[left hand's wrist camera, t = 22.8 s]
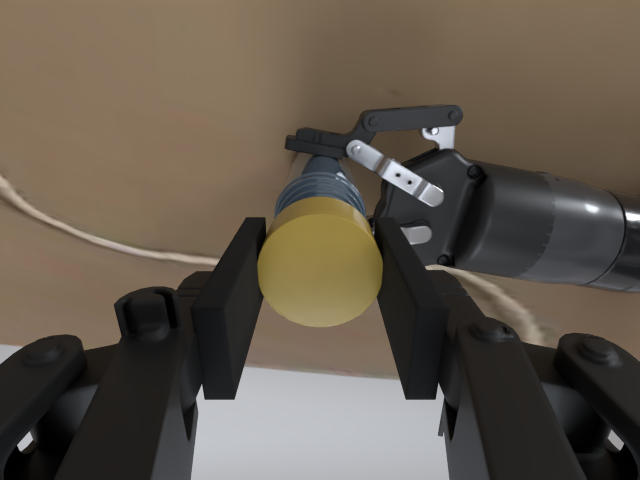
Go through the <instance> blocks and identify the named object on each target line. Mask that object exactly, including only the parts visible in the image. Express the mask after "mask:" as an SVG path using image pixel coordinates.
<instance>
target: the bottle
mask: <svg viewBox="0 0 640 480" xmlns="http://www.w3.org/2000/svg"><path fill="white" fill-rule="evenodd" d="M310 197H330V198H335V199H338V200H341V201H343V202H346V203H348V204H349V205H351V206H353V207H354V208H355V209H357V210H358V211H359V212H360V213H361V214H362V215H363V216H364V218H365V219H366V211H365V205H364V202H363V199H362V197H361V194H360V192H359V190H358V187H357V185H356V182H355V180H354V178H353V175H352V173H351V171H350V168H349V166H348V164H347V161H346V159H345V157H344V156H343V159H342V160H339V159H334V158H329V157H324V156H318V155H313V154H307V153H302V152H299V153H298V154H297V156H296V157H295V160H294V162H293V164H292V167H291V169H290V171H289V174H288V176H287V179H286V181H285V183H284V186H283V188H282V190H281V193H280V195H279V197H278V200H277V203H276V206H275V216H274V219H275V218H276V217H277V215H278V214H279V213H280V212H281V211H282V210H284V209H285V208H286V207H288V206H289V205H291V204H293V203H295V202H297V201H299V200H302V199H305V198H310Z"/></svg>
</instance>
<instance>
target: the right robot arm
mask: <svg viewBox="0 0 640 480" xmlns="http://www.w3.org/2000/svg"><path fill="white" fill-rule="evenodd" d="M462 118H463V111H462V109H461V108H460V107H459V106H457V105H442V104H440V105H427V106H414V107H401V108H388V109H375V110H366V111H364V112H362V113H361V115H360V117H359V120H358V122H357V123H356V125H355V127H354V128H353V130H352V131H351V132H349V133H347V134H338V133H333V132H328V131H322V130H317V129H312V128H307V127H305V128H301V129H298V130H297V133H296V136H293V135H288V136H287V137H286V142H285V149H287V150H292V151H297V152H302V153H307V154H313V155H318V156H324V157H329V158H334V159H339V160H342V159H343V156H344V157H349V158H351V159H353V160H355V161H356V162H358V163H360V164H361V165H363V166H365V167H366V168H368V169H370V170H372V171H373V172H375V173H376V174H377V175H379V176H380V177H382V178H383V180H382V184H381V198H380V200H379V202H378V204H377V206H376V208H375V211H374V215H369V216H366V220H367V222H368V223H369V226H370V228H371V230H372V232H373V235H374V225H375V224H374V223H375V217H394V218H395V220H396V221H397V223H398V225H399V226H400V228H401V230H402V231H403V233H404V234H405V236H406V238H407V239H408V241H409V242H410V244H411V246H412V247H413V249H414V250H415V252H416V254H417V255H418V257H419V259H420V260H421V262H422V263H423V265H424V266H428V265H434V264H437V265H442V266H446V267H450V268H455V269H461V270H467V271H473V272H479V273H484V274H490V275H496V276H502V277H508V278H514V279H520V280H526V281H532V282H538V283H548V284H570V285H577V286H583V287H588V288H594V289H600V290H606V291H612V292H619V293H640V196H637V195H632V194H627V193H621V192H616V191H611V190H606V189H600V188H596V187H592V186H589V185H587V184H584V183H581V182H578V181H575V180H572V179H568V178H563V177H558V176H553V175H551V174H549V173H546V172H532V171H527V170H522V169H516V168H511V167H506V166H501V165H495V164H490V163H485V162H480V161H475V160H470V159H466V158H464V157H463V156H462V155H461V154H460V153H459V152H458V151H456V150H454V136H455V125H457V124H459V123H460V121H461V120H462ZM410 129H418V132H419V134H420V136H421V137H423V138H425V139H428V140H432V141H433V142H434V144H435V148H434V149H431V150H429V151H427V152H425V153H423V154H421V155H418V156H416V157H414V158H412V159H410V160H408V161H405V162H403V163H400V162H398V161H397V160H395V159H393V158H392V157H390V156H388V155H387V154H385V153H383V152H382V151H380V150H378V149H376V148H374V147H373V146H371V145H370V142H371V140H372V139H373V137H374V136H375V134H376V132H384V131H397V130H410Z"/></svg>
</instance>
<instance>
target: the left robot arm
mask: <svg viewBox="0 0 640 480" xmlns="http://www.w3.org/2000/svg"><path fill="white" fill-rule="evenodd" d="M374 237H375V240H376V242H377V245H378V248H379V250H380V253H381V256H382V260H383V271H382V284H381V288H380V290H379V292H378V295H377V300H378V303H379V307H380V310H381V314H382V317H383V321H384V325H385V328H386V332H387V335H388V339H389V342H390V346H391V349H392V353H393V356H394V360H395V363H396V367H397V370H398V374H399V377H400V381H401V384H402V388H403V391H404V395H405V398H406V400H424V399H425V400H435V399H436V394H437V387H438V382H439V385H440V387H441V389H442V392H443V394H444V402H443V408H442V414H441V420H440V426H439V432H438V436H443V432H444V435H445V444H446V453H447V462H448V470H449V479H450V480H640V362H639V361H638V360H637V359H636V358H634V357H633V356H632V355H631V354H629V353H628V352H627V351H625V350H624V349H622V348H621V347H619V346H618V345H616V344H614V343H612V342H609V341H607V340H605V339H604V338H601V337H598V336H594V335H590V334H581V333H570V334H565V335H564V336H562V337H561V338H560V340H559V343H558V346H557V349H554V348H549V347H543V346H538V345H533V344H529V343H525V342H521V340H520V338H519V336H518V335H517V333H516V332H515V331H514V330H513V329H512V328H511V327H509V326H508V325H506V324H505V323H503V322H501V321H498V320H496V319H493V318H489V317H485V315H484V314H483V313H482V311H481V310H480V309H479V307H478V306H477V305H476V304H475V302H474V301H473V300H472V298H471V297H470V296H468V293H467V292H466V290H465V289H464V288H463V286H462V285H461V284H460V282H459V281H458V280H457V278H456V277H454V276H452V275H451V274H449V273H448V272H446V271H444V270H426V268H425V267H424V265H423V263H422V262H421V260H420V259H419V257H418V255H417V254H416V252H415V250H414V249H413V247H412V246H411V244H410V242H409V241H408V239H407V238H406V236H405V234H404V233H403V231H402V230H401V228H400V226H399V225H398V223H397V221H396V220H395V218H394V217H375V225H374ZM265 238H266V221H265V217H246V219H245V220H244V222H243V224H242V225H241V227H240V228H239V230H238V232H237V233H236V235H235V236H234V238H233V240H232V241H231V243H230V244H229V246H228V248H227V249H226V251H225V253H224V254H223V256H222V257H221V259H220V261H219V262H218V264H217V265H216V267H215V269H214V270H213V271H196V272H195V273H193V274H192V275H190V276H188V277H187V278H185V279H184V280H183V282H182V283H181V284H180V286H179V287H178V290H176V291H175V290H174V289H173V288H168V287H148V288H143V289H139V290H136V291H133V292H130V293H128V294H127V295H125V296H123V297H121V298H120V299H119V300H118V301H117V302H116V303H115V304H114V308H115V312H116V316H117V320H118V323H119V327H120V331H121V335H122V337H121V339H120V341H119V343H118V344H114V345H110V346H105V347H100V348H95V349H90V350H84V348H83V345H82V342H81V340H80V339H79V338H78V337H76V336H73V335H67V334H65V335H54V336H49V337H47V338H42V339H39V340H37V341H35V342H33V343H31V344H28V345H26V346H24V347H23V348H21V349H20V350H18V351H17V352H15V353H14V354H12V355H11V356H10V357H9V358H8V359H6V360H5V361H4V362H3V363H1V364H0V480H191V471H192V463H193V454H194V445H195V436H196V428H197V419H198V408H197V402H196V397H197V394H198V392H199V389H200V387H201V385H202V386H203V392H204V398H205V400H234V399H235V396H236V392H237V389H238V385H239V382H240V378H241V375H242V371H243V368H244V364H245V361H246V357H247V354H248V350H249V346H250V343H251V339H252V336H253V332H254V329H255V325H256V322H257V318H258V315H259V311H260V308H261V304H262V301H263V297H264V296H263V294H262V292H261V290H260V287H259V281H258V268H257V261H258V257H259V253H260V251H261V248H262V246H263V243H264V240H265ZM611 429H612V430H613V431H614V432H615V434H616V435H617V436H618V437H619V438H620V439H621V440H622V441H623V442H624V445H623V447H622V449H621V450H618V449H617V448H616V447H615V446H614V445H613V444H612V443H611V442H610V441H609V439H608V436H609V434H610V431H611ZM29 431H30V433H31V435H32V438H33V441H32V442H31V443H30V444H29V445H28V446H27V447H26V448H25V449H24V450H23V451H19V449H18V447H17V444H18V443H19V442H20V441H21V440H22V439H23V438H24V437H25V435H26V434H27V433H28V432H29Z"/></svg>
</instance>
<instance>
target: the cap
mask: <svg viewBox="0 0 640 480" xmlns="http://www.w3.org/2000/svg"><path fill="white" fill-rule="evenodd" d="M257 268H258V281H259V287H260V290H261V292H262V294H263V296H264V298H265V299H266V301H267V302H268V303H269V305H270V306H271V307H272V308H273V309H274V310H275V311H276V312H277V313H279V314H280V315H282V316H283V317H285V318H286V319H288V320H290V321H292V322H295V323H297V324H301V325H304V326H310V327H330V326H336V325H339V324H343V323H345V322H348V321H350V320H352V319H354V318H356V317H357V316H359V315H360V314H361V313H363V312H364V311H365V310H366V309H367V308H368V307H369V306H370V305H371V304H372V302H373V301H374V300H375V298H376V296H377V295H378V292H379V290H380V288H381V284H382V271H383V260H382V256H381V253H380V250H379V248H378V245H377V242H376V240H375V237H374V235H373V232H372V230H371V228H370V226H369V223H368V222H367V220H366V219H365V218H364V216H363V215H362V214H361V213H360V212H359V211H358V210H357V209H355V208H354V207H353V206H351V205H349V204H348V203H346V202H343V201H341V200H338V199H335V198H330V197H310V198H305V199H302V200H299V201H297V202H295V203H293V204H291V205H289V206H288V207H286V208H285V209H284V210H282V211H281V212H280V213H279V214H278V215H277V217H276V218H275V219H274V221H273V222H272V224H271V226H270V228H269V230H268V233H267V235H266V238H265V240H264V243H263V246H262V248H261V251H260V253H259V257H258V261H257Z"/></svg>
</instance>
